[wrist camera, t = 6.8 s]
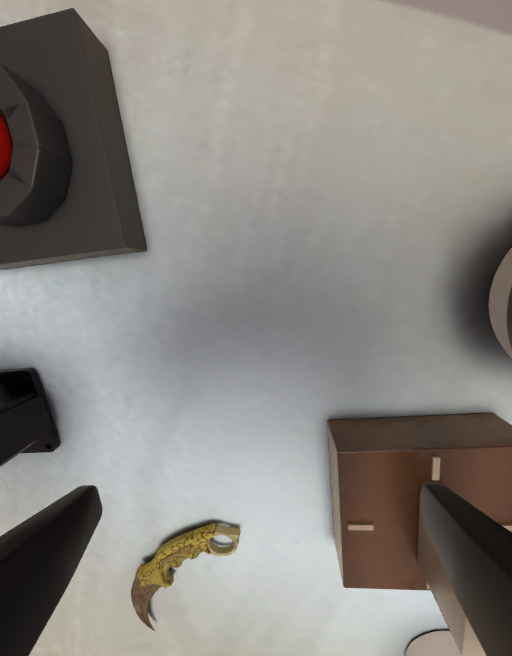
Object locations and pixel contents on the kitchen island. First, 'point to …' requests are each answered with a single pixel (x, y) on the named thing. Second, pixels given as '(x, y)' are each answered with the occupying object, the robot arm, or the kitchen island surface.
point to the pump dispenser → (502, 303)
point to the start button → (4, 148)
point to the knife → (176, 562)
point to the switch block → (62, 147)
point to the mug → (434, 645)
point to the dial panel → (409, 487)
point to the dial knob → (445, 594)
